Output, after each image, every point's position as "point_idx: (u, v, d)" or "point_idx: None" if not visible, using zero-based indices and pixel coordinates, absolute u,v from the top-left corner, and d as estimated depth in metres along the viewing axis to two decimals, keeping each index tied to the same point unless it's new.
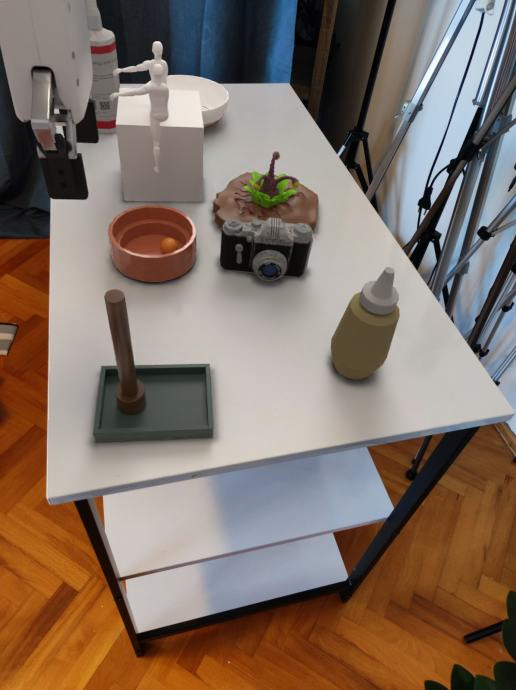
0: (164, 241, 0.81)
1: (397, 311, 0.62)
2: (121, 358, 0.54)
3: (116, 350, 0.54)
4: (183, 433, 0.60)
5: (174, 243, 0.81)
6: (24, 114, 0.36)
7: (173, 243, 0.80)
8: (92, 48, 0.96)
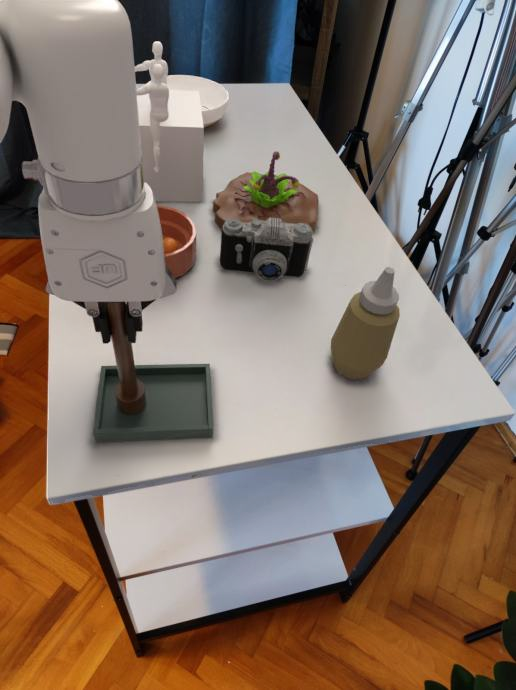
0: (164, 241, 0.81)
1: (397, 311, 0.62)
2: (121, 358, 0.54)
3: (116, 350, 0.54)
4: (183, 433, 0.60)
5: (174, 243, 0.81)
6: (164, 288, 0.46)
7: (173, 243, 0.80)
8: None
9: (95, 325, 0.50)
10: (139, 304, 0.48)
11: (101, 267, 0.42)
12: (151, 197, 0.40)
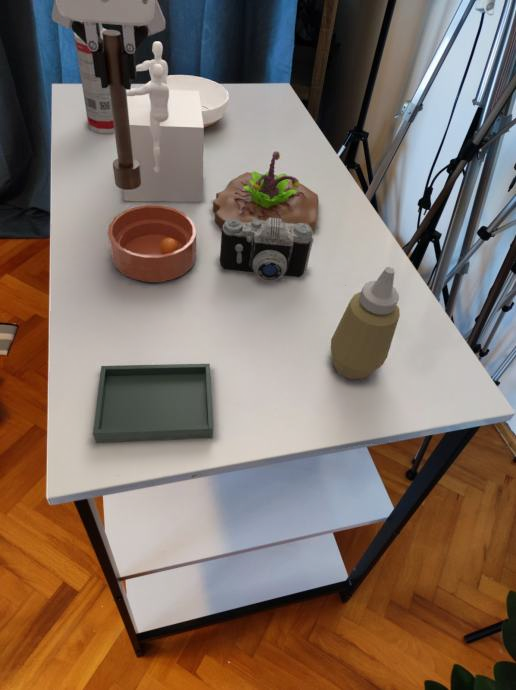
0: (164, 241, 0.81)
1: (397, 311, 0.62)
2: (117, 112, 0.61)
3: (113, 102, 0.61)
4: (183, 433, 0.60)
5: (174, 243, 0.81)
6: (154, 13, 0.53)
7: (173, 243, 0.80)
8: None
9: (94, 66, 0.57)
10: (133, 37, 0.55)
11: None
12: None
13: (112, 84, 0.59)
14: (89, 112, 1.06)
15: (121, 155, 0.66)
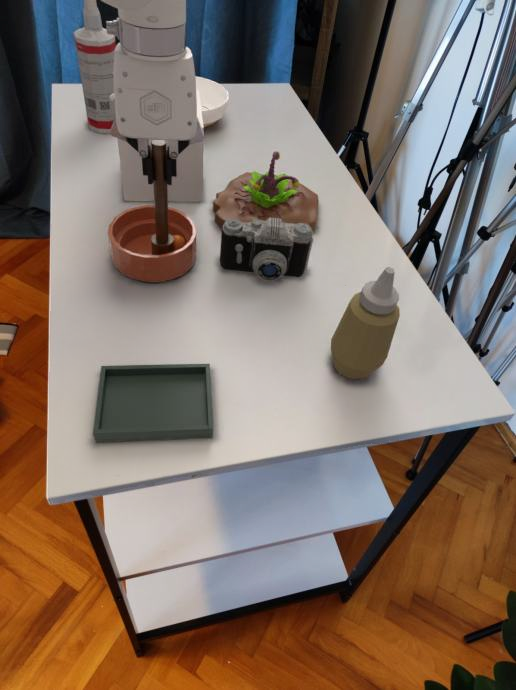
0: (179, 235, 0.82)
1: (397, 311, 0.62)
2: (159, 201, 0.72)
3: (156, 194, 0.72)
4: (183, 433, 0.60)
5: (185, 242, 0.82)
6: (196, 131, 0.64)
7: (185, 242, 0.82)
8: (92, 48, 0.96)
9: (143, 168, 0.68)
10: (177, 147, 0.66)
11: (154, 106, 0.60)
12: (190, 53, 0.59)
13: (156, 180, 0.70)
14: (89, 112, 1.06)
15: (159, 233, 0.77)
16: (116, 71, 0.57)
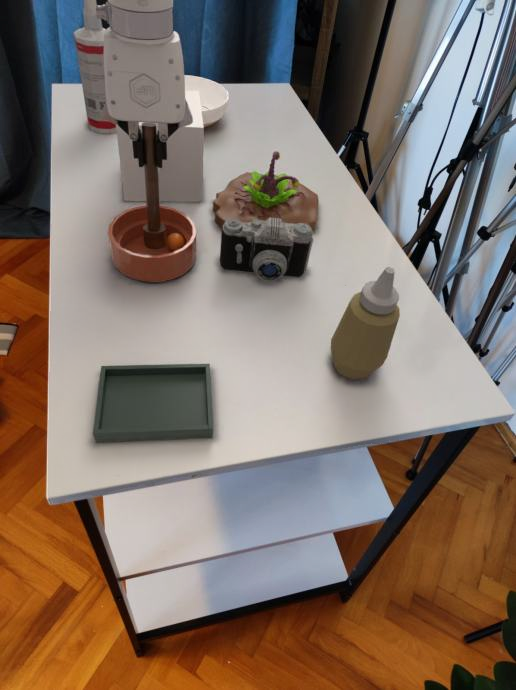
0: None
1: (397, 311, 0.62)
2: (148, 185, 0.74)
3: (145, 177, 0.73)
4: (183, 433, 0.60)
5: (184, 241, 0.82)
6: (184, 114, 0.66)
7: (183, 240, 0.82)
8: (92, 48, 0.96)
9: (134, 151, 0.70)
10: (166, 130, 0.68)
11: (143, 89, 0.62)
12: (178, 37, 0.61)
13: (145, 163, 0.72)
14: (89, 112, 1.06)
15: (149, 220, 0.78)
16: (106, 54, 0.59)
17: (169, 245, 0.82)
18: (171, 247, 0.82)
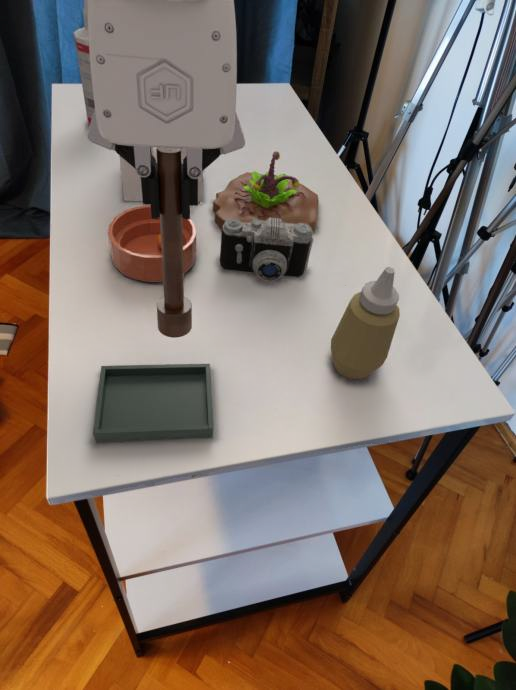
0: None
1: (397, 311, 0.62)
2: (165, 245, 0.45)
3: (162, 233, 0.45)
4: (183, 433, 0.60)
5: None
6: (233, 132, 0.37)
7: None
8: None
9: (143, 193, 0.42)
10: (200, 159, 0.39)
11: (162, 89, 0.34)
12: None
13: (162, 211, 0.43)
14: (89, 112, 1.06)
15: (166, 295, 0.49)
16: (92, 23, 0.31)
17: None
18: None
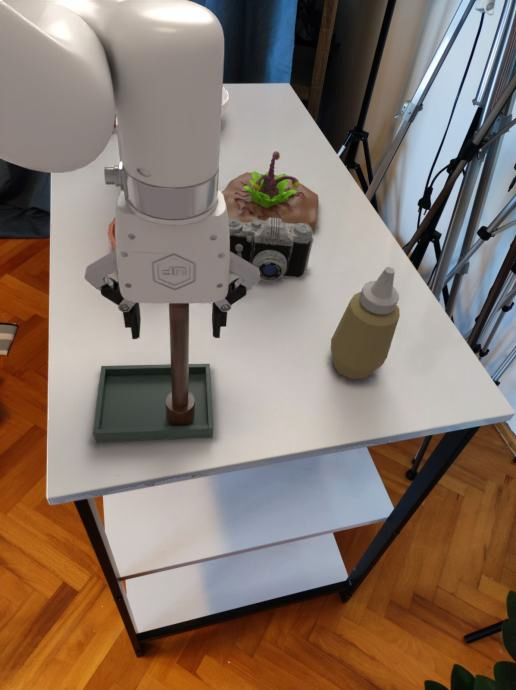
0: None
1: (397, 311, 0.62)
2: (174, 365, 0.54)
3: (171, 356, 0.54)
4: (183, 433, 0.60)
5: None
6: None
7: None
8: None
9: (125, 320, 0.50)
10: (223, 299, 0.49)
11: (172, 270, 0.43)
12: (223, 201, 0.41)
13: (172, 343, 0.52)
14: None
15: (174, 396, 0.58)
16: (119, 232, 0.40)
17: None
18: None
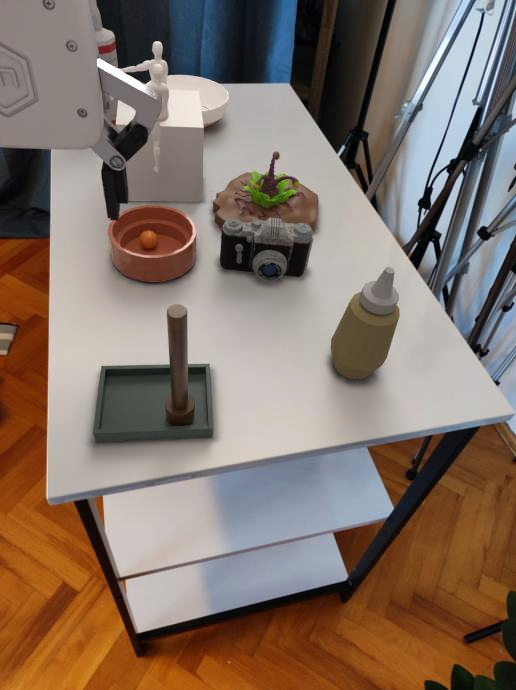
0: None
1: (397, 311, 0.62)
2: (173, 371, 0.54)
3: (170, 362, 0.53)
4: (183, 433, 0.60)
5: None
6: (102, 129, 0.30)
7: None
8: None
9: None
10: (109, 145, 0.32)
11: None
12: None
13: (170, 350, 0.52)
14: None
15: (173, 399, 0.58)
16: None
17: (152, 245, 0.82)
18: (150, 244, 0.81)
